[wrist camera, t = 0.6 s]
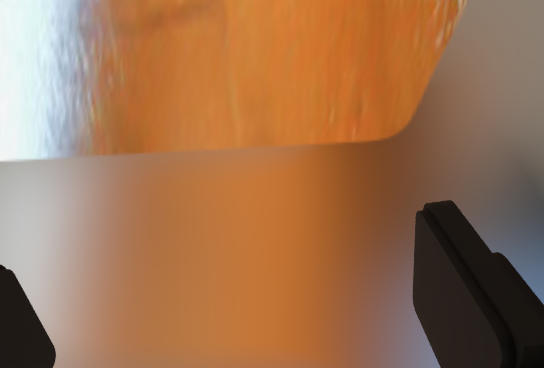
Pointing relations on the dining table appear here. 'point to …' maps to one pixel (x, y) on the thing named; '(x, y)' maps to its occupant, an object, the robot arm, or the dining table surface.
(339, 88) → the dining table surface
